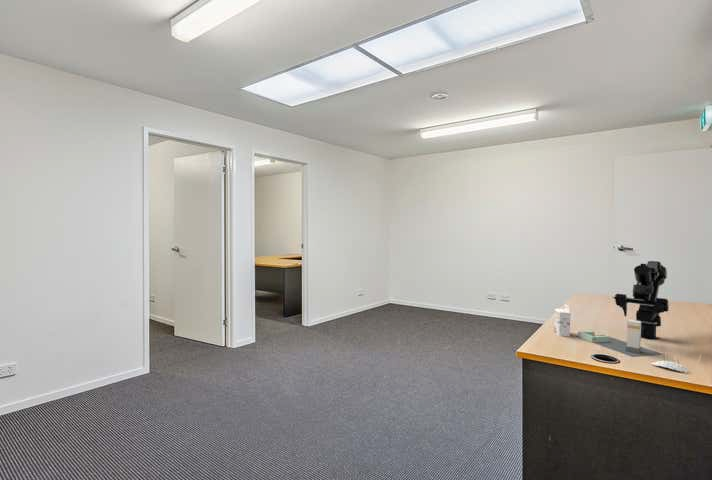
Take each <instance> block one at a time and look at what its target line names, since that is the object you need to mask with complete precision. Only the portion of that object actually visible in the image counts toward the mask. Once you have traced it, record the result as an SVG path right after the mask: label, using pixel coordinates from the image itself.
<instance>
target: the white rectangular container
mask: <svg viewBox="0 0 712 480" xmlns="http://www.w3.org/2000/svg"><path fill="white" fill-rule="evenodd" d="M626 335H627V336H626V337H627V338H626V342H627V346H626V351H627V352H633V353H638V354H639V353H640V352H641V347H642V345H641V341H642V339H641V338H642V337H641V321H636V319H635V320H634V319H628V320H627V333H626Z"/></svg>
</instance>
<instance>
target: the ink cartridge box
mask: <svg viewBox="0 0 712 480" xmlns="http://www.w3.org/2000/svg"><path fill="white" fill-rule="evenodd" d="M553 330H554V331H553V332H554V333H556V335H557V336H559V337H571V306H570V305H568V304H567V303H564V308H554V326H553Z"/></svg>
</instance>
